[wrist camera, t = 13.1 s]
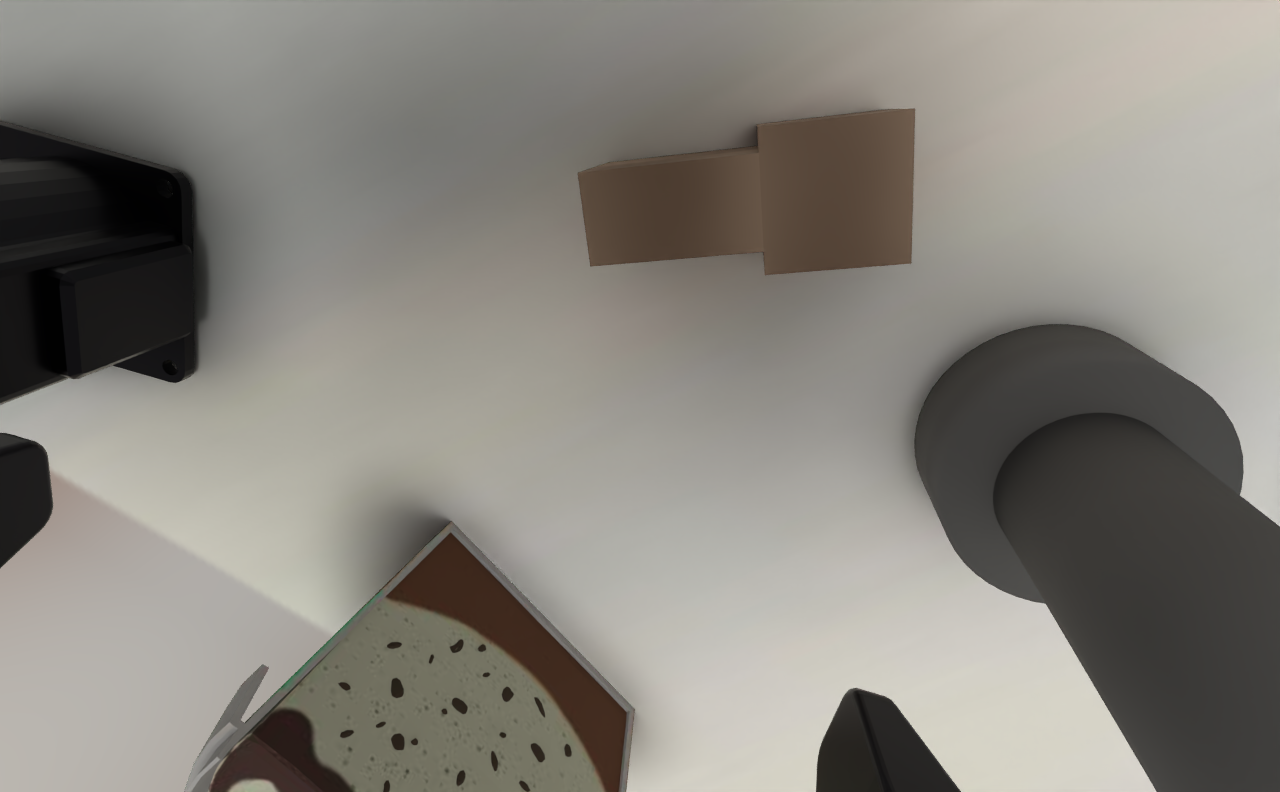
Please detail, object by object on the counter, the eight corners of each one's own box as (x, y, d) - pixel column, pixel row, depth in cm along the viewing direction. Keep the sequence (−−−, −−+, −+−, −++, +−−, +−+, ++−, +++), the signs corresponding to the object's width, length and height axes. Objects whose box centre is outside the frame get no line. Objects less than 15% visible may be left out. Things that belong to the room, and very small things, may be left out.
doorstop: (871, 405, 20) (1046, 850, 8) (1106, 275, 18) (1847, 614, 6) (982, 574, 21) (1277, 1175, 9) (1212, 472, 19) (1993, 1085, 7)
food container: (306, 578, 25) (47, 847, 16) (419, 488, 23) (196, 739, 14) (539, 799, 27) (432, 1145, 18) (661, 736, 25) (608, 1092, 16)
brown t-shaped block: (1555, 31, 15) (2158, -31, 8) (1509, 182, 16) (2013, 228, 9) (606, 142, 18) (528, 157, 12) (620, 259, 19) (555, 329, 13)
